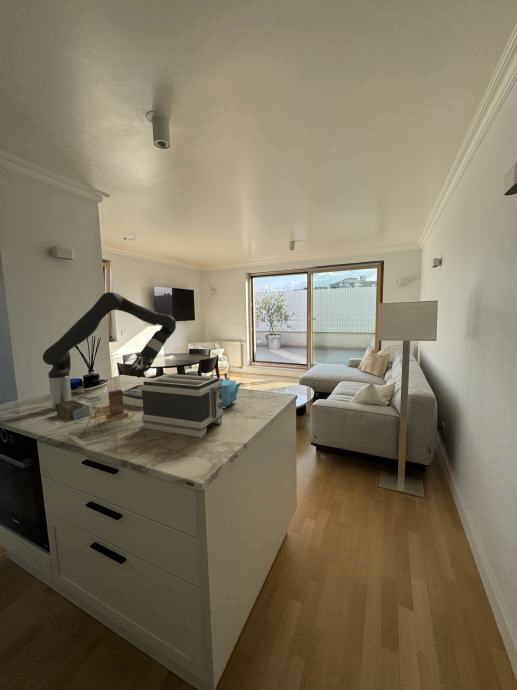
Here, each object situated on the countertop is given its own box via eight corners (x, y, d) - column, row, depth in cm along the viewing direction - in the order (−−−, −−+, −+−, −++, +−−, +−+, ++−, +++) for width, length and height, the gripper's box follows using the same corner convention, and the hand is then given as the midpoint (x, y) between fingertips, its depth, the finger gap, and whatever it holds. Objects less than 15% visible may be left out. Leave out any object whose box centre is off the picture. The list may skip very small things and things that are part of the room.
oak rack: (91, 418, 135) (90, 408, 135) (118, 411, 145) (117, 401, 145) (106, 426, 126) (105, 415, 125) (134, 417, 136) (133, 407, 135)
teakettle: (199, 403, 157) (198, 377, 156) (230, 398, 166) (229, 373, 165) (210, 413, 141) (209, 384, 139) (244, 406, 150) (243, 379, 148)
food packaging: (174, 387, 164) (144, 398, 144) (175, 400, 165) (145, 412, 144) (142, 383, 174) (110, 393, 154) (143, 395, 175) (111, 406, 154)
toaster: (210, 440, 110) (209, 387, 108) (142, 429, 122) (139, 381, 120) (231, 423, 127) (230, 377, 125) (169, 414, 139) (167, 373, 137)
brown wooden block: (110, 418, 132) (108, 391, 130) (120, 415, 136) (119, 389, 134) (113, 420, 130) (111, 392, 128) (124, 416, 134) (122, 390, 132)
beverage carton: (73, 423, 131) (71, 409, 130) (55, 415, 141) (54, 402, 141) (91, 418, 137) (90, 404, 136) (73, 411, 148) (72, 398, 147)
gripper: (139, 344, 147) (121, 371, 140) (153, 345, 138) (134, 373, 131) (150, 353, 152) (133, 378, 145) (164, 353, 143) (146, 381, 136)
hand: (133, 376), depth 138 cm, fingers open, 8 cm apart
